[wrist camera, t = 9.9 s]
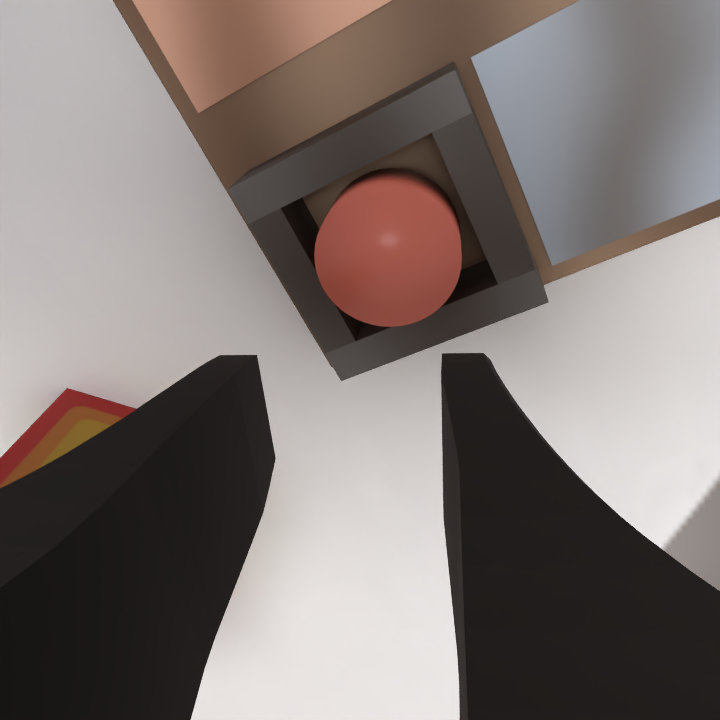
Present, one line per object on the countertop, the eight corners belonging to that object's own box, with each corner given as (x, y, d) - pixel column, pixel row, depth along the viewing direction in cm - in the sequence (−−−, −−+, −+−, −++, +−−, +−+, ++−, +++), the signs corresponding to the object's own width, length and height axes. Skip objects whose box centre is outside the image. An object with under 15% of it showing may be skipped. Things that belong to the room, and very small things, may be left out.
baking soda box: (67, 388, 24) (-449, 925, 10) (234, 438, 24) (-49, 1030, 10) (59, 555, 29) (-297, 1072, 15) (199, 595, 29) (-26, 1141, 15)
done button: (363, 315, 18) (355, 345, 17) (302, 204, 17) (287, 225, 15) (481, 267, 17) (484, 295, 16) (426, 143, 16) (424, 160, 14)
